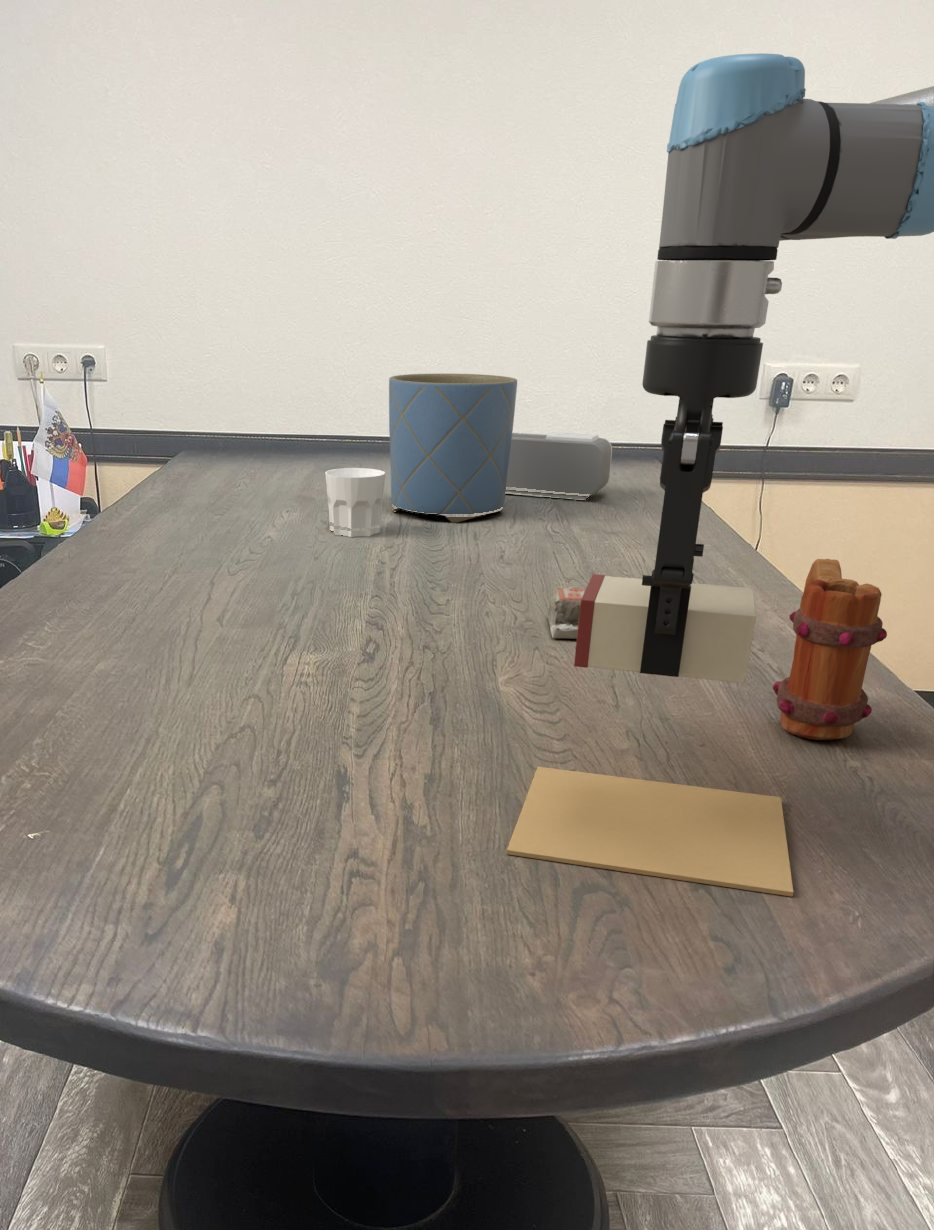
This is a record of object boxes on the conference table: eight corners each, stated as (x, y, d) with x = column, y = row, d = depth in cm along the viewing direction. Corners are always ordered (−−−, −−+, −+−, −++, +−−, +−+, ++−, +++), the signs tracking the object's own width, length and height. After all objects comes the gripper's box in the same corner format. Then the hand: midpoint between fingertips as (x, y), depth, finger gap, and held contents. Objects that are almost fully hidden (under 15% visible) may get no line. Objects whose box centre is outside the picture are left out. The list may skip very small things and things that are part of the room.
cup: (391, 536, 180) (392, 476, 176) (333, 539, 178) (333, 478, 174) (375, 525, 189) (376, 467, 185) (319, 527, 187) (319, 469, 183)
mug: (872, 754, 98) (909, 592, 91) (778, 747, 99) (808, 587, 93) (836, 699, 111) (866, 554, 104) (753, 694, 112) (778, 550, 106)
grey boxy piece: (553, 600, 126) (549, 580, 135) (550, 640, 128) (546, 617, 137) (711, 606, 125) (696, 584, 134) (705, 646, 127) (690, 622, 136)
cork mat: (780, 801, 89) (781, 797, 88) (792, 897, 75) (793, 892, 75) (537, 770, 94) (537, 766, 94) (506, 854, 80) (506, 849, 80)
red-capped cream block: (585, 636, 87) (592, 573, 85) (742, 651, 84) (753, 587, 82) (573, 666, 80) (580, 599, 78) (744, 684, 77) (756, 615, 75)
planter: (361, 512, 200) (362, 378, 190) (434, 496, 215) (439, 371, 206) (461, 529, 186) (469, 386, 176) (531, 511, 202) (542, 378, 192)
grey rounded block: (607, 495, 218) (614, 434, 213) (597, 502, 210) (604, 439, 205) (478, 485, 228) (482, 426, 223) (464, 492, 220) (467, 431, 215)
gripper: (770, 340, 62) (712, 707, 72) (759, 328, 80) (714, 623, 90) (638, 337, 64) (598, 695, 74) (656, 326, 82) (622, 615, 92)
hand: (662, 655), depth 82 cm, fingers closed on red-capped cream block, 8 cm apart
